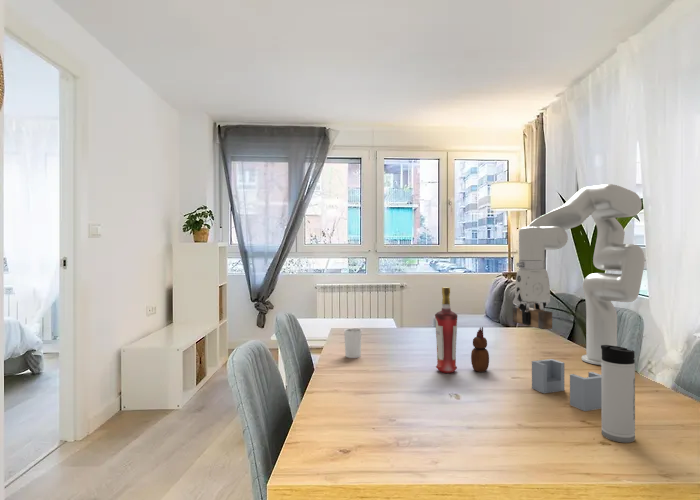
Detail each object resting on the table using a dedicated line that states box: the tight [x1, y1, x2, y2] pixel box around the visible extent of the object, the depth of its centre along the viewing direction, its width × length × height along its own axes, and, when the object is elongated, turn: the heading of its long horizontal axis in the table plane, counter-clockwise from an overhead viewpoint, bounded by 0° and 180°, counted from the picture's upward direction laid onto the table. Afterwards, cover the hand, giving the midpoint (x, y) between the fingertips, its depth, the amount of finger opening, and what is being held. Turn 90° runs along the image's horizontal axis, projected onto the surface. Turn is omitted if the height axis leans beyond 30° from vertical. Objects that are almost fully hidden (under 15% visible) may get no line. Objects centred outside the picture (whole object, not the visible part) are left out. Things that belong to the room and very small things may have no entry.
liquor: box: [434, 286, 458, 374], centre depth 148 cm, size 7×7×28 cm
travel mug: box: [600, 345, 636, 444], centre depth 97 cm, size 6×7×20 cm
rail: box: [512, 305, 553, 330], centre depth 140 cm, size 3×14×5 cm, turn 17°
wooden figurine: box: [470, 326, 490, 373], centre depth 149 cm, size 7×6×15 cm
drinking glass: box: [343, 327, 362, 359], centre depth 170 cm, size 7×7×10 cm
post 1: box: [531, 358, 566, 394], centre depth 129 cm, size 7×5×8 cm, turn 108°
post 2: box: [569, 371, 602, 412], centre depth 115 cm, size 7×5×8 cm, turn 108°
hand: (531, 323), depth 140 cm, fingers closed on rail, 3 cm apart
